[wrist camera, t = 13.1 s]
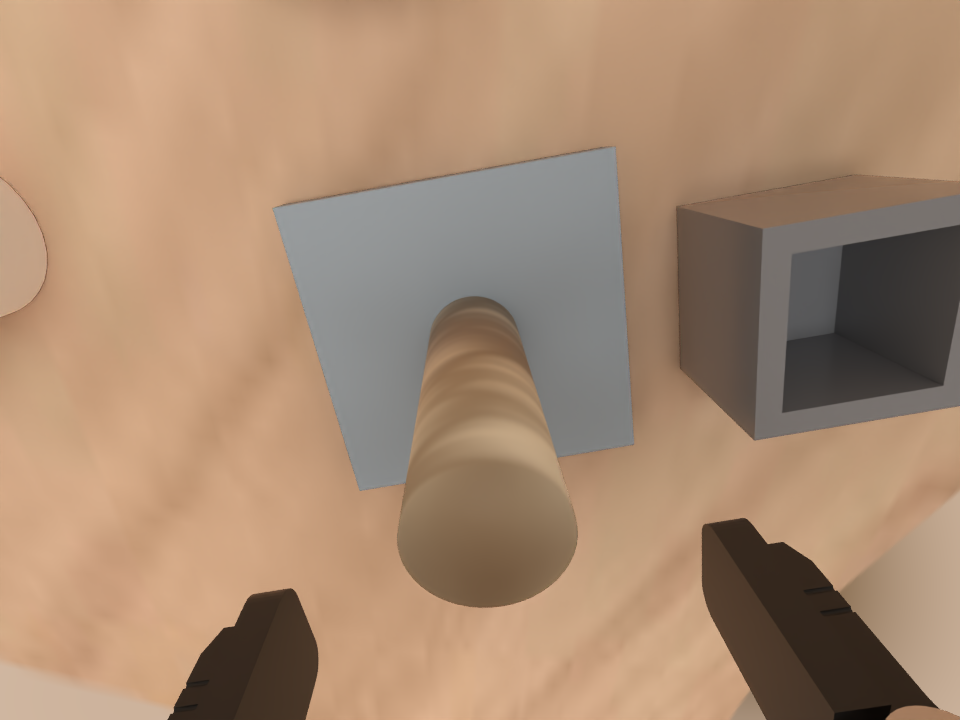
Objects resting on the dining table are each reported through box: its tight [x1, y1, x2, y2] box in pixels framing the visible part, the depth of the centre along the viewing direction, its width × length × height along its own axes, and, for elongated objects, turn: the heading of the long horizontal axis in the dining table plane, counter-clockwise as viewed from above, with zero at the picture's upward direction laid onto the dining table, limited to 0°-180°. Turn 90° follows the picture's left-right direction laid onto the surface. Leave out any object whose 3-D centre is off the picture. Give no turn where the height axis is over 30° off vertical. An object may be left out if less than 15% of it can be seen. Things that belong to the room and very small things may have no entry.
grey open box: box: [677, 175, 960, 440], centre depth 21 cm, size 8×8×7 cm
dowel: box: [397, 296, 578, 608], centre depth 18 cm, size 4×4×13 cm
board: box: [273, 147, 634, 491], centre depth 24 cm, size 14×14×2 cm
